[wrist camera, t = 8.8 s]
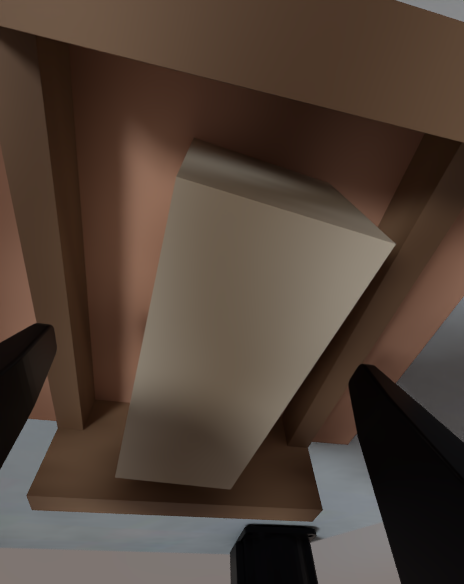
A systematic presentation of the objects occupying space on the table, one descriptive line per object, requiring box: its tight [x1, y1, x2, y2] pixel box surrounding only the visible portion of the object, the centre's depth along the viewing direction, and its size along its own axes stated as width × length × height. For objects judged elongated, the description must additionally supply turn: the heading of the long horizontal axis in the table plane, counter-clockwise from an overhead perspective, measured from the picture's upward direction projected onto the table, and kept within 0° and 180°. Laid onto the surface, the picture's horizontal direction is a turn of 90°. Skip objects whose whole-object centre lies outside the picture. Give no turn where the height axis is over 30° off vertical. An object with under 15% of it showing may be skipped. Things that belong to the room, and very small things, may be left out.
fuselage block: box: [115, 138, 396, 489], centre depth 9 cm, size 4×10×4 cm, turn 163°
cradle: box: [0, 0, 464, 522], centre depth 10 cm, size 18×17×5 cm
